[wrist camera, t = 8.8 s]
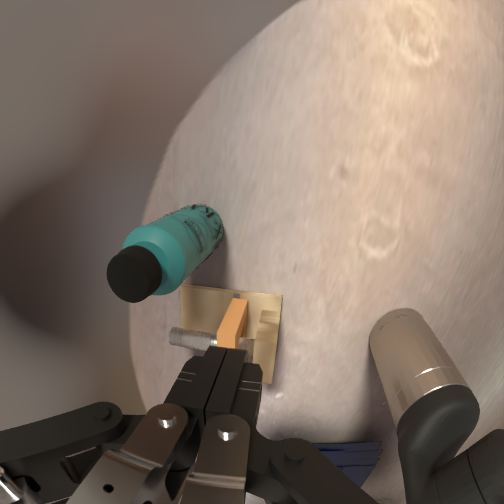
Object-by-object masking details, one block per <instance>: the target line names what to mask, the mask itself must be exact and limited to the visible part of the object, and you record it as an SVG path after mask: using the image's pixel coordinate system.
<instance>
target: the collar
mask: <svg viewBox="0 0 504 504" xmlns="http://www.w3.org/2000/svg"><path fill="white" fill-rule="evenodd" d="M247 305H248V300H246V299H237V298H233V299H232V301H231V303H230V305H229V307H228V310H227V312H226V314H225V316H224V318H223V320H222V323H221V325H220V327H219V329H218V331H217V346H218V347H226V348H235V349H238V342H239V339H240V337H243V338H245V337H246V321H247Z"/></svg>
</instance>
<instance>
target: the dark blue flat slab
mask: <svg viewBox="0 0 504 504" xmlns="http://www.w3.org/2000/svg"><path fill="white" fill-rule="evenodd" d="M381 442H382V441H380V442H367V443H348V444H313V445H314V446H315V447H316V448H317V449H318V450H319V451H320V452H321V453H322V454H323V455H324V456H326V457H327V458H328V459H329V460H330V461H331V462H332V463H333V464H334V465H335V466H336V467H337V468H338V469H340V470H341V471H342V472H343V473H344V474H345V475H346V476H347V477H348V478H350V479H351V480H352V481H353V482H354V483H355V484H356V485H358V486H359V487H361V486H362V484H363V483H364V482H365V480H366V479H367V477H368V476H369V475H370V473H371V472H372V470H373V469H374V468H375V466H376V464H377V462H378V460H379V459H380V458H378V457H379V456H380V454H381V452H382V450H377V449H378V448H379V446H380V444H381Z"/></svg>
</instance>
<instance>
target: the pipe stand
mask: <svg viewBox="0 0 504 504" xmlns="http://www.w3.org/2000/svg"><path fill="white" fill-rule="evenodd" d="M233 298H237V299H246V300H248V305H247V321H246V337H245V338H243V337H240V339H239V342H238V349H243V350H248V357H251V358H253V363H255V364H259V365H260V367H261V369H262V372H263V379H262V383H268V384H272V377H273V370H274V362H275V354H276V346H277V338H278V329H279V321H280V312H281V303H282V295H275V294H266V293H256V292H247V291H239V290H230V289H222V288H213V287H205V286H198V285H190V284H182V285H181V286H180V299H181V323H182V328H177V327H172V329H171V331H170V334H169V343H170V344H171V345H175V346H181V347H186V348H192V349H197V350H203V351H207V349H208V347H209V345H211V346H217V331H218V329H219V327H220V325H221V323H222V320H223V318H224V316H225V314H226V312H227V310H228V307H229V305H230V303H231V301H232V299H233Z"/></svg>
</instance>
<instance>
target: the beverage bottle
mask: <svg viewBox="0 0 504 504" xmlns="http://www.w3.org/2000/svg"><path fill="white" fill-rule="evenodd" d="M188 206H189V207H187V206H186V207H187V208H185V207H183V208H184V209H182V208H181V209H182V210H179V211H176V212H174V213H173V212H172V213H171V212H170V213H171V214H170V215H167V216H165V217H164V216H163V217H162V218H160V219H159V220H156V221H154V222H152V223H150V224H147V225H145V226H141V227H139V228H137V229H135V230H133V231H132V232H131V233H130V234H129V235H128V236H127V238H126V240H125V242H124V245H123V249H122V250H121V251H120V252H119V253H118V254H117V255H116V256H114V257H113V258H112V259H111V261H110V262H109V264H108V267H107V280H108V283H109V285H110V287H111V289H112V291H113V292H114V293H115V294H116V295H117V296H118V297H119V298H121V299H122V300H124V301H127V302H131V303H136V302H140V301H142V300H144V299H145V298H147V297H148V296H150V295H165V294H169V293H171V292H173V291H174V290H176V289H177V288H178V287H179V286H180V285H181V283H182V282H183V281H184V279H185V278H186V277H187V276H188V275H189V274H190V273H191V272H192V273H193V271H194V270H195V269H196V268H197V267H198V266H199V265H200V264H201V263H202V262H203V260H204V259H205V258H206V257H207V256H208V255H209V256H210V255H211V254H212V253H211V252H212V251H213V250H214V249H215V248H217V247H218V244H219V243H220V242H221V239H222V236H223V228H224V226H223V225H222V223H223V222H222V221H221V219H220V217H219V215H218V213H216V212H215V211H214V209H211V208H209V207H207V205H206V206H205V205H204V204H203V205H201V204H200V205H193V204H192V206H190V205H188ZM209 256H208V257H209ZM208 257H207V258H208ZM207 258H206V259H207ZM206 259H205V260H206Z"/></svg>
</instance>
